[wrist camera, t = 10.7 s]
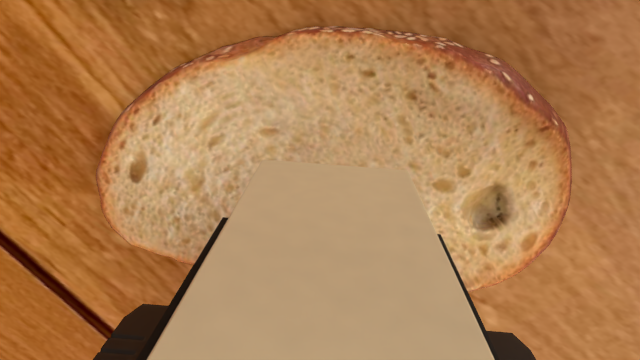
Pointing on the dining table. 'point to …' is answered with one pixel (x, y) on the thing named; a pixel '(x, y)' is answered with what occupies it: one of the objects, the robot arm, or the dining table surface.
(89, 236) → the dining table surface
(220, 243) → the block
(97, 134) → the dining table surface
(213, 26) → the dining table surface
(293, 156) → the bread slice
